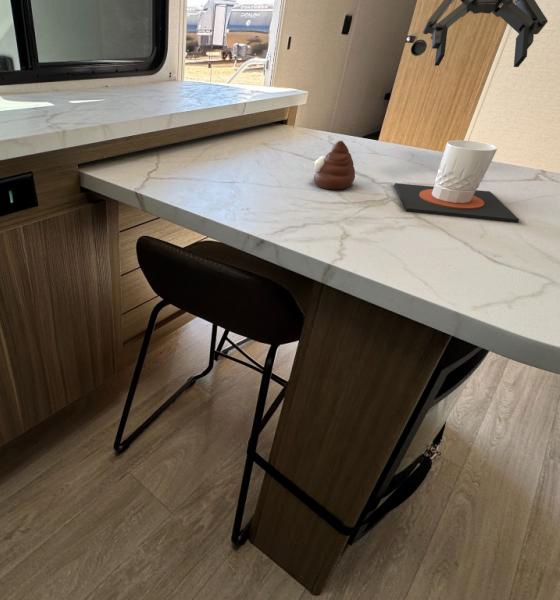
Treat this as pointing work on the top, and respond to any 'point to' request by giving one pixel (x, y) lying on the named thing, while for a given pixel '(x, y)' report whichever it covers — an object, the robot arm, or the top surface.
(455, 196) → the white cup
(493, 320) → the top surface
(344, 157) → the poop emoji
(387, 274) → the top surface
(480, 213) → the placemat
